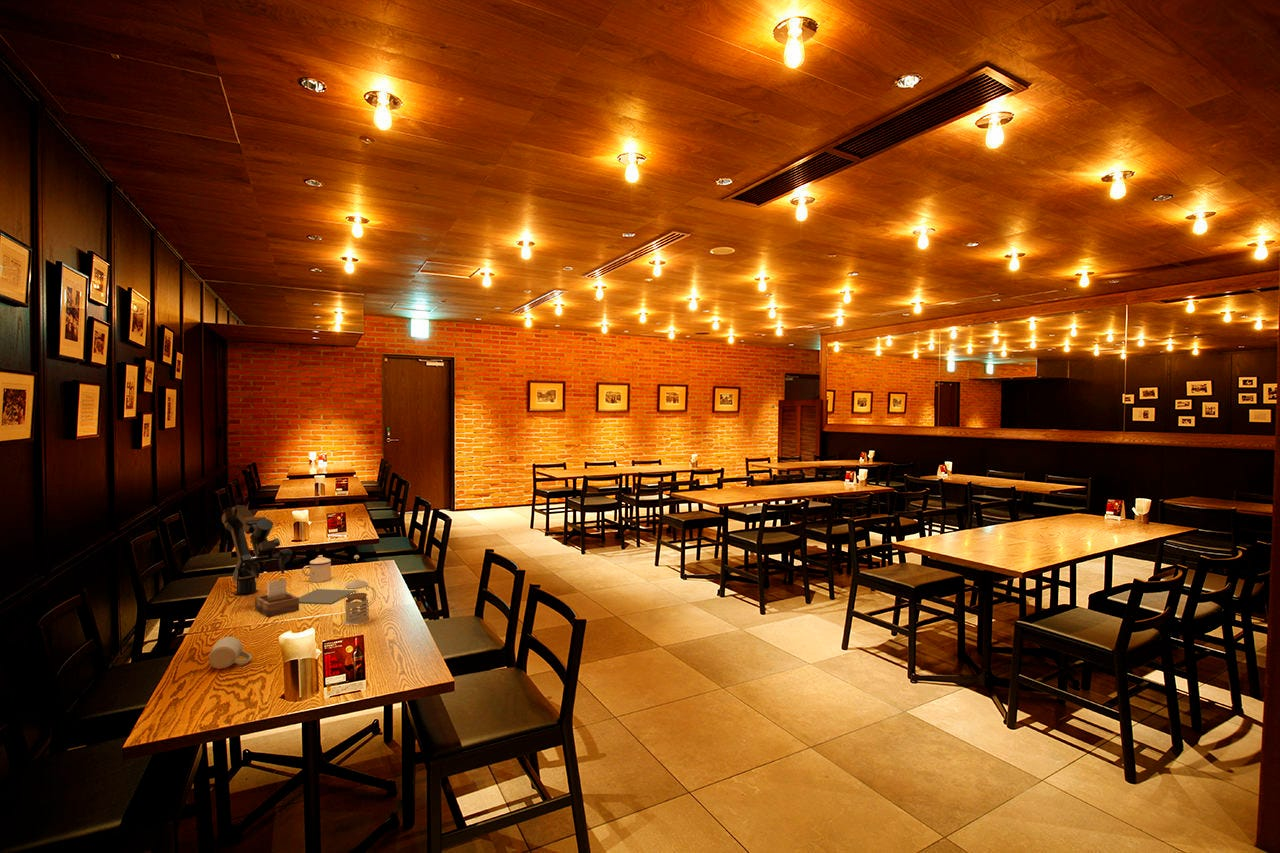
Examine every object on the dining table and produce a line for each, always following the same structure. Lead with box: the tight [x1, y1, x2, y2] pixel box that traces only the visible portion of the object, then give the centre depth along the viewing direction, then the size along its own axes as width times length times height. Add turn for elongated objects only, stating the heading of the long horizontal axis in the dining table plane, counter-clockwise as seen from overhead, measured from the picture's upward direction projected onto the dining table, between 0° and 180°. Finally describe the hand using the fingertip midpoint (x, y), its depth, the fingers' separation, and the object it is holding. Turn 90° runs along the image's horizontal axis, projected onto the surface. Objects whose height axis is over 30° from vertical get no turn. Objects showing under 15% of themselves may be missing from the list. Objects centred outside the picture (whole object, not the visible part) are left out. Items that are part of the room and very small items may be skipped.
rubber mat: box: [298, 588, 357, 605], centre depth 257 cm, size 18×18×1 cm
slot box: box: [254, 591, 300, 618], centre depth 239 cm, size 14×11×5 cm
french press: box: [342, 554, 377, 626], centre depth 228 cm, size 10×12×25 cm
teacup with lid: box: [302, 554, 332, 583], centre depth 282 cm, size 12×9×12 cm
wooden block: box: [266, 578, 287, 600], centre depth 239 cm, size 2×6×9 cm, turn 140°
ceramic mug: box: [208, 636, 252, 670], centre depth 188 cm, size 11×8×8 cm
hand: (270, 575), depth 244 cm, fingers open, 9 cm apart
